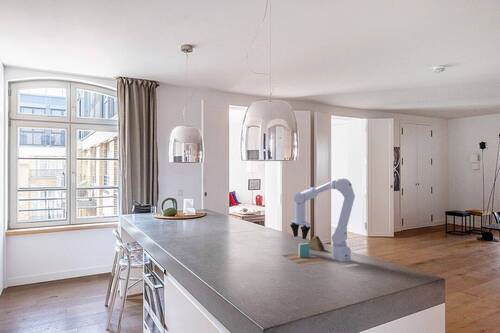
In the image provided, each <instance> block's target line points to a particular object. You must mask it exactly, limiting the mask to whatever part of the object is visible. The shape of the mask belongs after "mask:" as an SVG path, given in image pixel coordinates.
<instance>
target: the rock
mask: <svg viewBox="0 0 500 333" xmlns="http://www.w3.org/2000/svg"><path fill="white" fill-rule="evenodd" d="M308 243H309V244H310V250H315V251H319V252H320V251H325V250H326V249H325V247H324V246H325V245H324V244H323V242H322V240H321V239H320V237H319V236H318V235H314V236H313V237H312V238H311V239H310V240H309V241H308Z"/></svg>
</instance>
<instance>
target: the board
mask: <svg viewBox="0 0 500 333" xmlns="http://www.w3.org/2000/svg"><path fill="white" fill-rule="evenodd" d="M298 254H299V252H296V253H287V254H286V253H285V254H281V256H282V257H284V258H286V259H288V260H290V261H292V262H294V263H295V264H298V265H300V266H309V265H318V264H326V263H327V264H328V263H329V261H327V260H324V259H322V258H319V257H317V256H315V255H313V254H310V253H309V257H301V258H300V257H298Z"/></svg>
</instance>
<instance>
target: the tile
mask: <svg viewBox="0 0 500 333" xmlns="http://www.w3.org/2000/svg"><path fill="white" fill-rule="evenodd" d="M310 250H311V249H310V244H309V242H306V243H298V253H299V254H298V257H300V258H301V257H309V254H310Z"/></svg>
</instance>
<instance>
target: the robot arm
mask: <svg viewBox="0 0 500 333" xmlns="http://www.w3.org/2000/svg"><path fill="white" fill-rule="evenodd" d="M352 185H353V184H352V183H351V181H350V180H349V179H347V178H338V179H336V180H335V179H334V180H331V181H328V182H327V183H325V184H322V185H320V186H317V187H315V186H313V187H311V186H310V187H308V188H307V189H305V190H300V191H301V192H297V193H296V194H294V196H293V201H294V203H295V204H294V208H295V209H294V210H295V211H294V212H295V213H294V215H295V216H294V218H295V219H291V220H290V224H289V225H290V226H289V227H291V228H290V229H291V230H292V233H293V237H294V238H296V237H298V236H299V227H300V229H301V234H302V240H307V237H308V233H309V231H310V229H311V223H310V222H307V220H306V202H307V201H309V200H312V199H315V198H317V197H318V196H319V194H320V193H323V192H325V191H328V190H330V189H332V190H337V191H338V192H339V193H340V194H341V195H342V196H343V198H344V199H343V202H342V206H341V212H340V215H339V218H338V222H337V226H336V228H335V231H334V233H333V234H332V236H331V241H332V260H336V261H337V262H342V263H343V262H351V259H352V258H351V256H352V254H351V252H352V251H351V249H350V247H349V246H348V244H347V239H348V225H349V221H350V216H351V214H352V213H351V212H352V208H353V206H354V201H355V197H356V195H355V192H354V189H353V186H352Z"/></svg>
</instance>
